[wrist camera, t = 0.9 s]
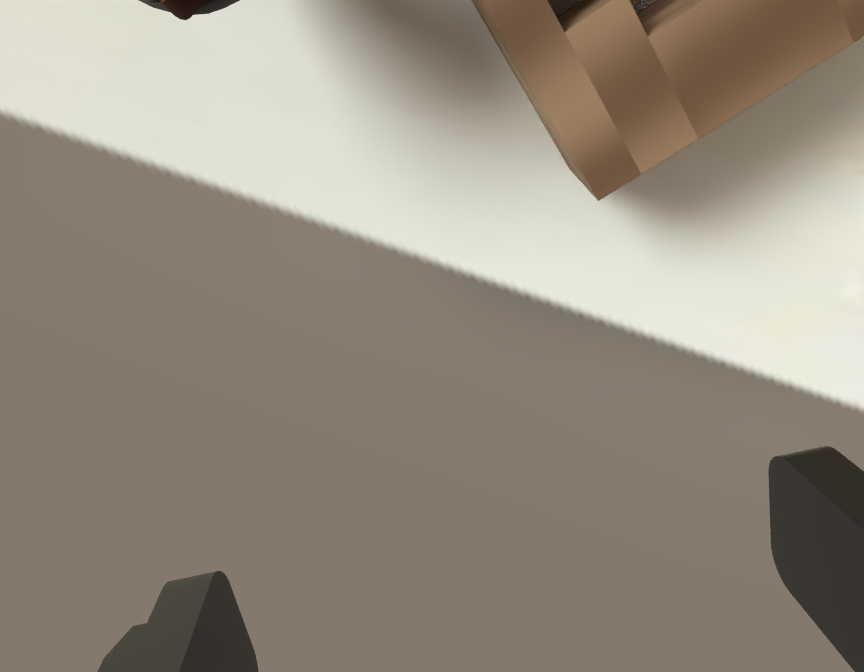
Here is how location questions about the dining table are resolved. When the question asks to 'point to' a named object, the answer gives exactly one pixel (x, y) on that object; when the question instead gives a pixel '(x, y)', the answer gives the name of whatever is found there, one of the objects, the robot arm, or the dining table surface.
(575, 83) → the walnut socket block
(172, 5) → the sundae
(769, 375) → the dining table surface
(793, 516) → the robot arm
